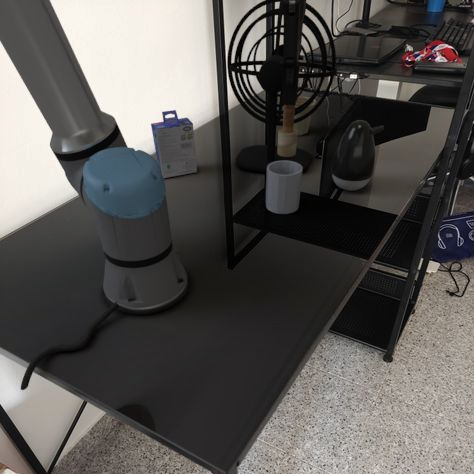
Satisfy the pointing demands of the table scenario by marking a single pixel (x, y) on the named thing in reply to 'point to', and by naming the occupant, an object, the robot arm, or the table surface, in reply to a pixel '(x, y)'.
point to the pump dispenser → (355, 156)
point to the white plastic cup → (283, 186)
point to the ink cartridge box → (174, 145)
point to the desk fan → (276, 85)
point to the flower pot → (304, 124)
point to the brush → (287, 132)
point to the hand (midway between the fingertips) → (289, 101)
